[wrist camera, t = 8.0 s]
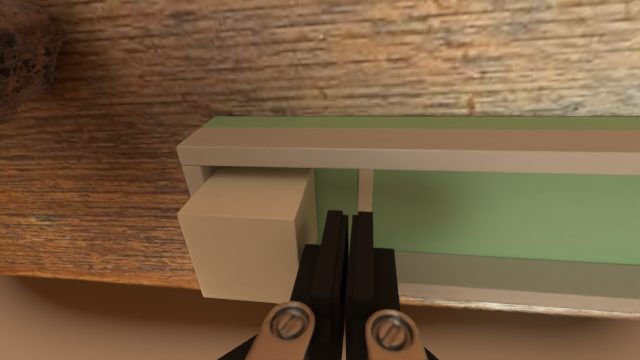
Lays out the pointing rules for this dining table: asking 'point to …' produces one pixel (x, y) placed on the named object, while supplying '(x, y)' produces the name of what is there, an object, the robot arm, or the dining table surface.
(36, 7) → the perforated stone tool
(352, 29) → the dining table surface
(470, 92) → the dining table surface
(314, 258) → the robot arm
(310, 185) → the beige cube
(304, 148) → the tray
